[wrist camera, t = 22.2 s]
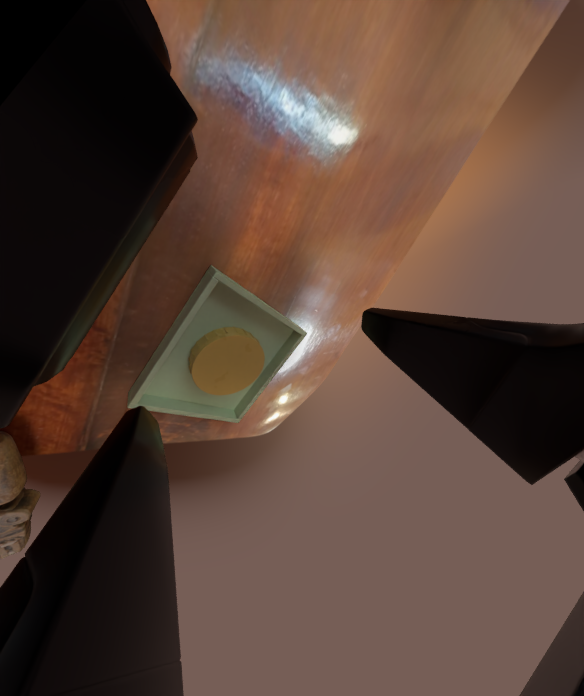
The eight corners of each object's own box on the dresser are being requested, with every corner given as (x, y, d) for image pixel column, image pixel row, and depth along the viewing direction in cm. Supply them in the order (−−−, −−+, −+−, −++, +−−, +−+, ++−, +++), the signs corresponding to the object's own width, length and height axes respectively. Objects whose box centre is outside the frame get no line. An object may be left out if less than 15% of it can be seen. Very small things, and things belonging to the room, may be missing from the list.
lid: (243, 313, 19) (249, 321, 18) (267, 362, 24) (274, 371, 23) (171, 351, 18) (173, 362, 17) (211, 395, 22) (215, 406, 21)
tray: (233, 411, 26) (238, 423, 25) (128, 392, 18) (126, 407, 17) (298, 325, 24) (307, 333, 23) (210, 264, 16) (216, 270, 15)
